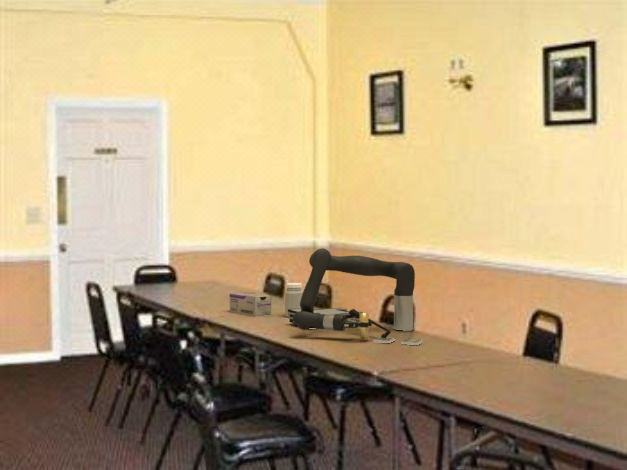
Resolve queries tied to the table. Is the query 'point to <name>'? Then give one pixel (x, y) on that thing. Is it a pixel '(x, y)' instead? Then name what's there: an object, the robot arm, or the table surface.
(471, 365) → the table surface
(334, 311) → the game console
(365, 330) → the link pin
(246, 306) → the surgical sutures box
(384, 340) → the metal plates
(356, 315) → the wrench
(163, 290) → the table surface
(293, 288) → the jar
